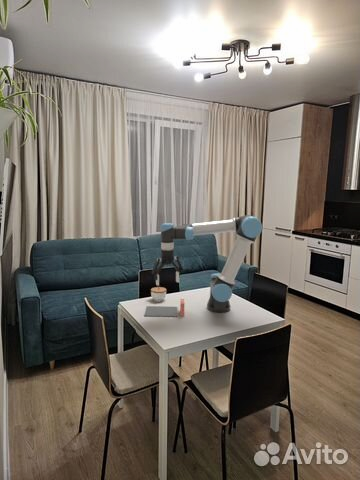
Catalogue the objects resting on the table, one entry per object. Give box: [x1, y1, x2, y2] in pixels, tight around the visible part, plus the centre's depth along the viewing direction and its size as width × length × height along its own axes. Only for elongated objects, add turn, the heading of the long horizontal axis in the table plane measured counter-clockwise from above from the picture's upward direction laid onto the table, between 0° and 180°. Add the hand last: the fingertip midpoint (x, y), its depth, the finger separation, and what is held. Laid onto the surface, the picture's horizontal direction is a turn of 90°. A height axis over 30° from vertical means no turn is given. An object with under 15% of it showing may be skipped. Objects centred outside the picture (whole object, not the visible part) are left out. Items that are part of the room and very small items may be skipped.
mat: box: [143, 305, 178, 318], centre depth 204 cm, size 20×16×1 cm
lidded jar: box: [150, 286, 167, 302], centre depth 225 cm, size 11×11×9 cm
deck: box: [179, 298, 185, 317], centre depth 201 cm, size 2×9×8 cm, turn 1°
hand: (167, 283), depth 197 cm, fingers open, 13 cm apart
